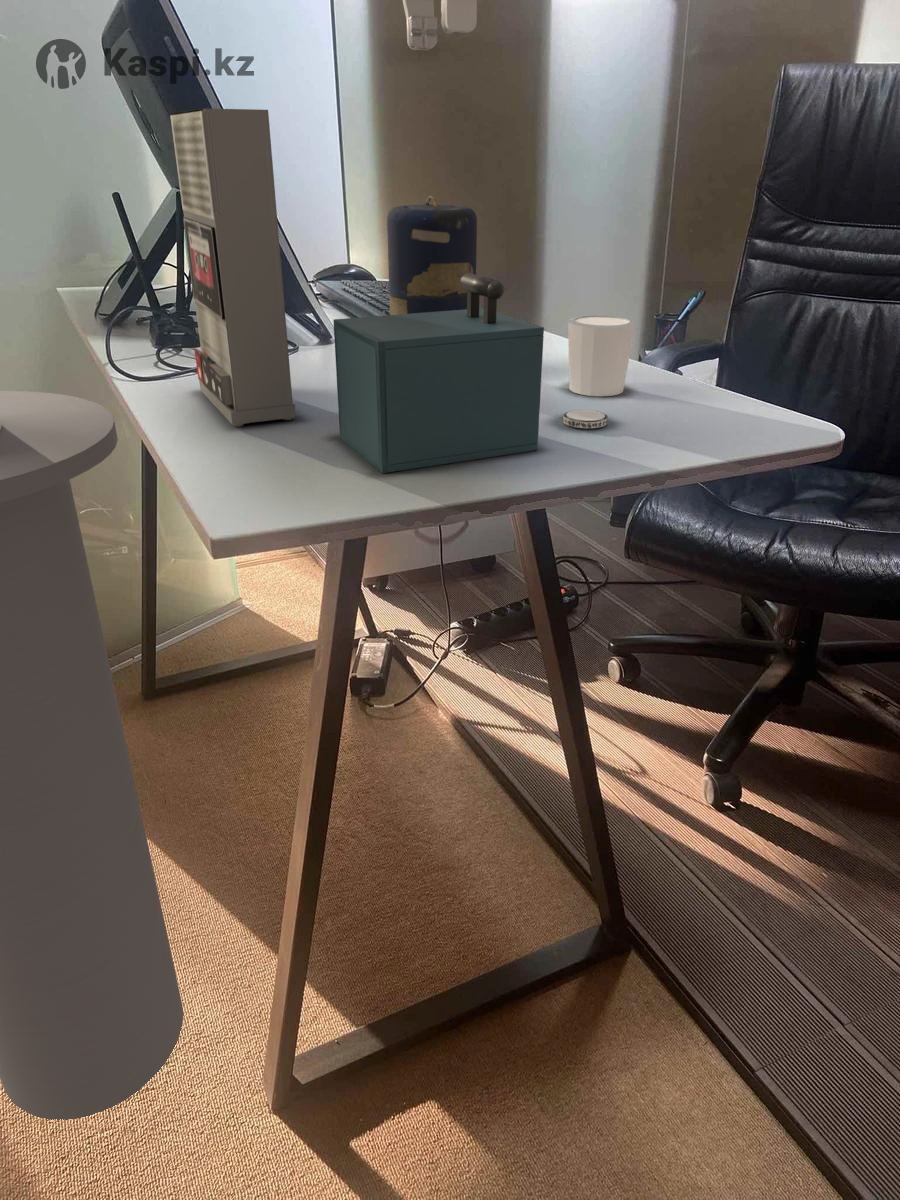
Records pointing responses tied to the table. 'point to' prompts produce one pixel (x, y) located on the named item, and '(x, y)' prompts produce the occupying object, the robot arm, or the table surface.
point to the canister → (430, 256)
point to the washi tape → (585, 419)
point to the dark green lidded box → (439, 383)
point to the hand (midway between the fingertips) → (439, 41)
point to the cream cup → (599, 354)
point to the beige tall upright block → (234, 261)
